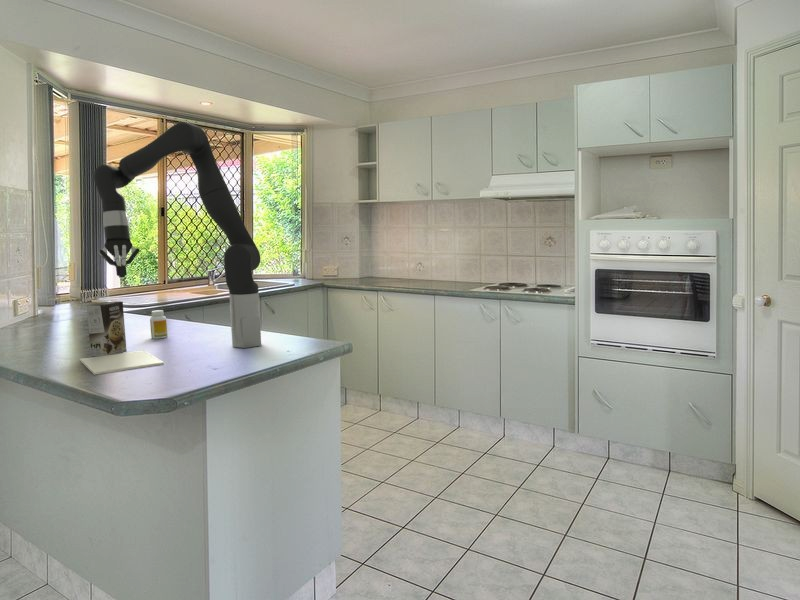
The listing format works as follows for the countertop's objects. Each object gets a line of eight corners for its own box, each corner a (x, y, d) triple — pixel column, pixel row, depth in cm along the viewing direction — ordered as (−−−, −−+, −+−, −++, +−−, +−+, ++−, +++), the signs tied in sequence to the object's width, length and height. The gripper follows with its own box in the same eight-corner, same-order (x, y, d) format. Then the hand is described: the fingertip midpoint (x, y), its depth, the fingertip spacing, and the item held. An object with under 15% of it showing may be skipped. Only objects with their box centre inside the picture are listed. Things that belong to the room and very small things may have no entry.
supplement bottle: (170, 336, 213) (168, 310, 212) (159, 339, 208) (157, 312, 207) (159, 335, 215) (157, 309, 214) (148, 338, 210) (145, 311, 209)
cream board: (163, 364, 169) (163, 362, 169) (94, 374, 158) (94, 372, 158) (144, 352, 186) (143, 350, 186) (80, 360, 176) (80, 358, 176)
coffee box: (108, 357, 180) (103, 304, 178) (90, 356, 182) (85, 304, 180) (127, 350, 189) (123, 301, 187) (110, 350, 190) (105, 300, 188)
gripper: (96, 224, 190) (102, 277, 190) (139, 223, 198) (145, 275, 198) (92, 228, 196) (98, 279, 196) (134, 227, 204) (140, 277, 204)
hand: (122, 277), depth 197 cm, fingers closed
